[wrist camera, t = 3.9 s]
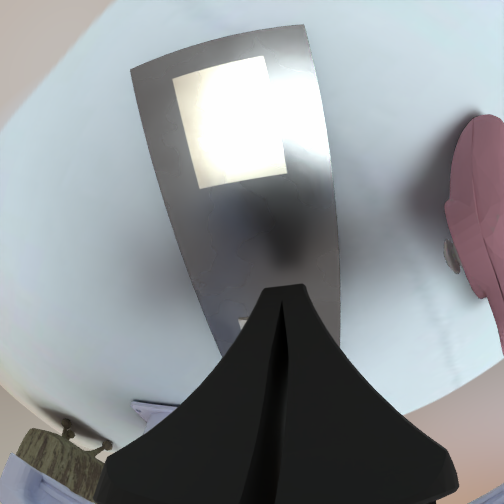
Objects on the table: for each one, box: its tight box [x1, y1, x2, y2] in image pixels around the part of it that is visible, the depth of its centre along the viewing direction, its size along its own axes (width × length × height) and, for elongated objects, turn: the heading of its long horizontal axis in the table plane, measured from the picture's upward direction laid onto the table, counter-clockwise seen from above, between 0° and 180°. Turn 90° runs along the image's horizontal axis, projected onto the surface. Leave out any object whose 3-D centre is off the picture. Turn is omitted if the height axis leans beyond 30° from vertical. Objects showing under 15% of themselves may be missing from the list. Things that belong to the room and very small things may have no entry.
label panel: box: [130, 24, 340, 358], centre depth 11 cm, size 16×6×1 cm, turn 12°
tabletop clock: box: [16, 419, 112, 504], centre depth 18 cm, size 14×9×25 cm, turn 111°
